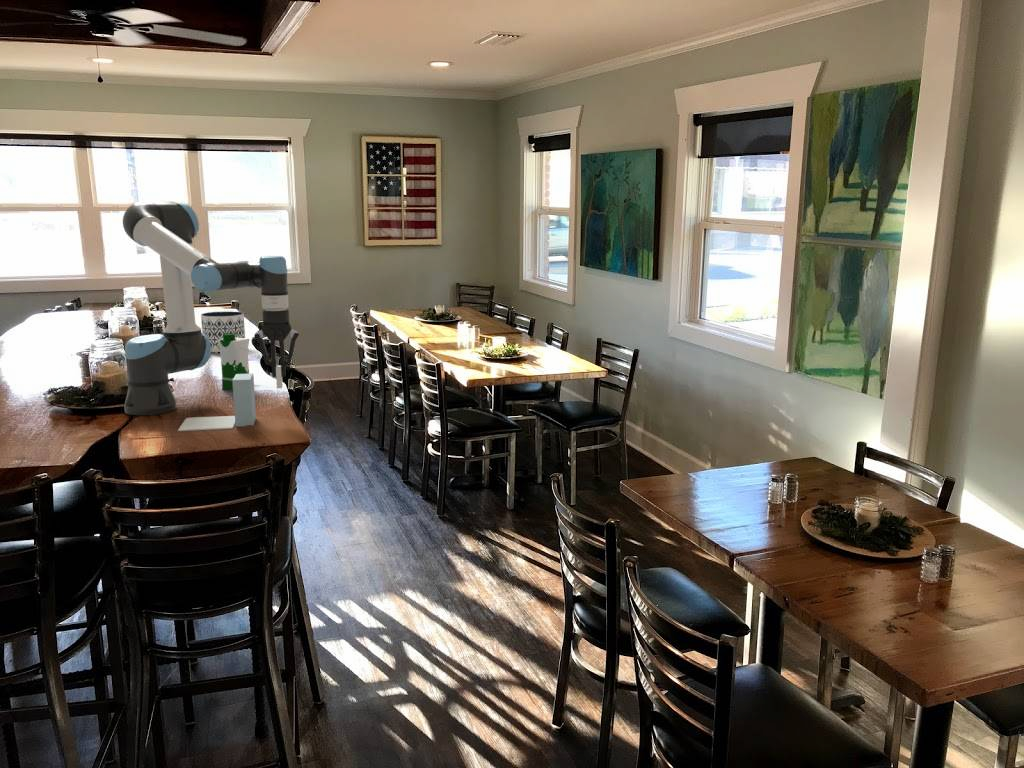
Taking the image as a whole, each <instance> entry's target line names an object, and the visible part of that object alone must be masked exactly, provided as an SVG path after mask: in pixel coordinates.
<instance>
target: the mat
mask: <svg viewBox="0 0 1024 768" xmlns="http://www.w3.org/2000/svg"><path fill="white" fill-rule="evenodd" d="M234 427H235V415H227V416H226V415H225V416H224V415H222V416H221V415H220V416H198V417H196V416H195V417H185V419H184V420H183V422H182V423H181V424H180V427H179V428H178V430H177V432H189V431H211V430H212V431H215V430H230V429H231V430H232V429H234Z"/></svg>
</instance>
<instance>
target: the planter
mask: <svg viewBox="0 0 1024 768" xmlns="http://www.w3.org/2000/svg"><path fill="white" fill-rule="evenodd" d="M200 320H201V333H203V334H205V335H206V336H207V338H208V339H207V340H209V341H210V345H211V352H215V353H214V354H219V353H218V352H220V348H219V345H218V341H217V340H220V339H223V334H227V333H233V334H235V337H236V338H246V330H245V329H246V328H245V316H244V312H242V311H231V310H230V311H229V310H228V311H225V310H224V311H212V312H210V311H208V312H203V313H201V314H200ZM216 352H217V353H216Z"/></svg>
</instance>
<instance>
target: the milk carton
mask: <svg viewBox="0 0 1024 768" xmlns="http://www.w3.org/2000/svg"><path fill="white" fill-rule="evenodd" d="M217 341H218V345H219V348H220V353H219V354H220V364H221V365H220V366H221V390H222V391H227V392H233V382H232V380H233V378H234V377H235V375H236V374H250V368H249V367H250V366H249V365H250V364H249V351H248V350H249V345H250V338H248V337H247V338H246V337H245V338H236V337H235V334H233V333H227V334H223V339H220V340H217Z"/></svg>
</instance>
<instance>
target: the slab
mask: <svg viewBox="0 0 1024 768" xmlns="http://www.w3.org/2000/svg"><path fill="white" fill-rule="evenodd" d="M232 382H233V391H232V395H233V409H234V410H233V412H234V416H235V425H234V427H235V426H237V427H246V426H245V425H253V424H254V425H255V422H256V420H257V414H256V413H257V411H256V397H255V379H254V373H249V374H236V375H235V377H234V378H233V380H232ZM255 419H256V420H255ZM254 421H255V422H254ZM254 425H253V426H254Z"/></svg>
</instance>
